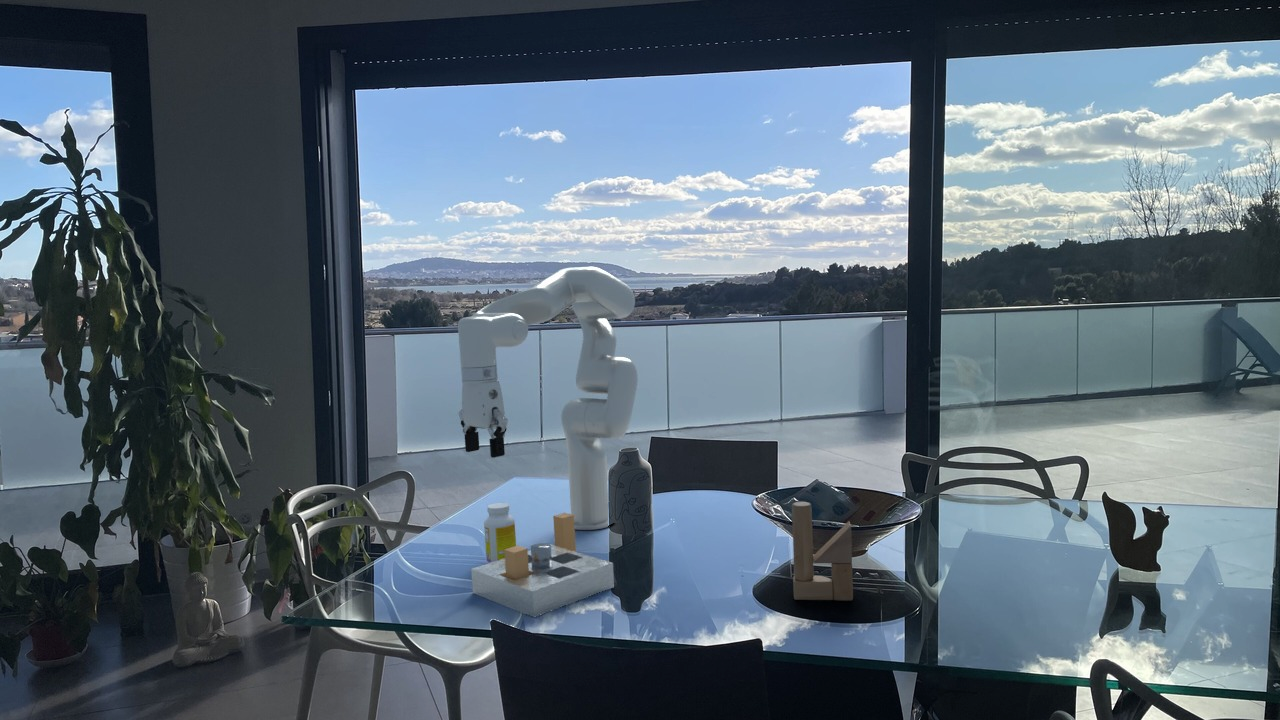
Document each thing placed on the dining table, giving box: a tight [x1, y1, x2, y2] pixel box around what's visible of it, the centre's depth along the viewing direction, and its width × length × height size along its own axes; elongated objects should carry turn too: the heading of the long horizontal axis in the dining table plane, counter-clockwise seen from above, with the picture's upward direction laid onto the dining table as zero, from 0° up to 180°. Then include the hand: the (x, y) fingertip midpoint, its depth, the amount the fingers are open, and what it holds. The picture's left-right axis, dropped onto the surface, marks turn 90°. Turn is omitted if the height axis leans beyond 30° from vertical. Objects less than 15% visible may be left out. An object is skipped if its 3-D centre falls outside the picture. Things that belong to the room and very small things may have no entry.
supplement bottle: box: [483, 502, 517, 564], centre depth 196 cm, size 7×7×13 cm
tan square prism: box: [552, 512, 577, 552], centre depth 196 cm, size 3×3×10 cm
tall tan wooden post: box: [504, 545, 529, 581], centre depth 174 cm, size 3×3×10 cm
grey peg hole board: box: [470, 542, 615, 618], centre depth 178 cm, size 20×20×9 cm
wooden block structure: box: [791, 501, 854, 602], centre depth 167 cm, size 4×11×18 cm, turn 82°
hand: (485, 453), depth 192 cm, fingers open, 9 cm apart
